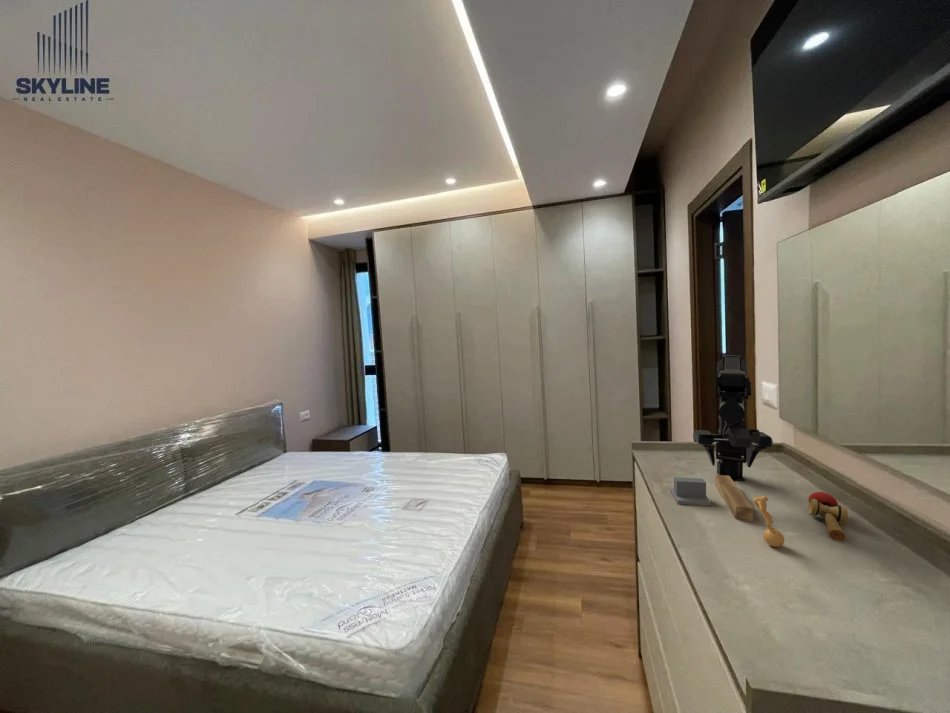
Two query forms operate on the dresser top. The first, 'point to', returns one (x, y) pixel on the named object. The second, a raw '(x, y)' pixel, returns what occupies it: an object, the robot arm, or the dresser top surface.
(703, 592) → the dresser top surface
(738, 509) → the plank
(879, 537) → the dresser top surface
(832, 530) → the kendama
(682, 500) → the grey stepped block
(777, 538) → the figurine
